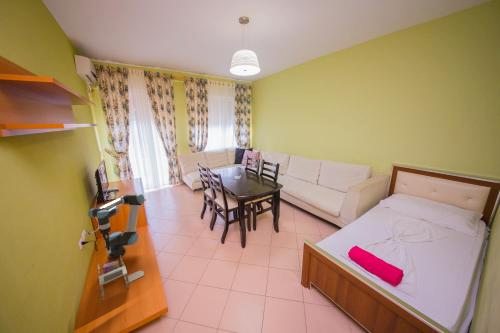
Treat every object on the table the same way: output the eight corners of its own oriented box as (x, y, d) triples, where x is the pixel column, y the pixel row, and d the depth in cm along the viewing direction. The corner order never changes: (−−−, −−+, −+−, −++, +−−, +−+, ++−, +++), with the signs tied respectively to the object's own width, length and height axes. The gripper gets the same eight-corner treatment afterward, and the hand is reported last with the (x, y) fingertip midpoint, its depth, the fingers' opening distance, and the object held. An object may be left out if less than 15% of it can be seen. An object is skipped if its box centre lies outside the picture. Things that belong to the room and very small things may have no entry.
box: (104, 279, 157) (102, 267, 155) (106, 275, 162) (104, 263, 160) (118, 275, 161) (117, 264, 159) (119, 271, 166) (118, 260, 164)
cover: (98, 277, 143) (97, 272, 142) (125, 266, 154) (124, 261, 154) (99, 285, 135) (98, 280, 134) (127, 273, 147) (126, 268, 146)
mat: (127, 276, 160) (127, 276, 160) (142, 269, 168) (142, 269, 168) (129, 282, 153) (128, 282, 153) (144, 275, 161) (144, 274, 161)
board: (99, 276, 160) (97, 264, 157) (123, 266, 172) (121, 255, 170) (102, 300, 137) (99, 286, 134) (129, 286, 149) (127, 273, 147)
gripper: (98, 224, 159) (101, 245, 163) (100, 235, 142) (104, 258, 145) (108, 221, 165) (111, 241, 168) (111, 231, 147) (115, 254, 150)
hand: (108, 249), depth 157 cm, fingers open, 13 cm apart
